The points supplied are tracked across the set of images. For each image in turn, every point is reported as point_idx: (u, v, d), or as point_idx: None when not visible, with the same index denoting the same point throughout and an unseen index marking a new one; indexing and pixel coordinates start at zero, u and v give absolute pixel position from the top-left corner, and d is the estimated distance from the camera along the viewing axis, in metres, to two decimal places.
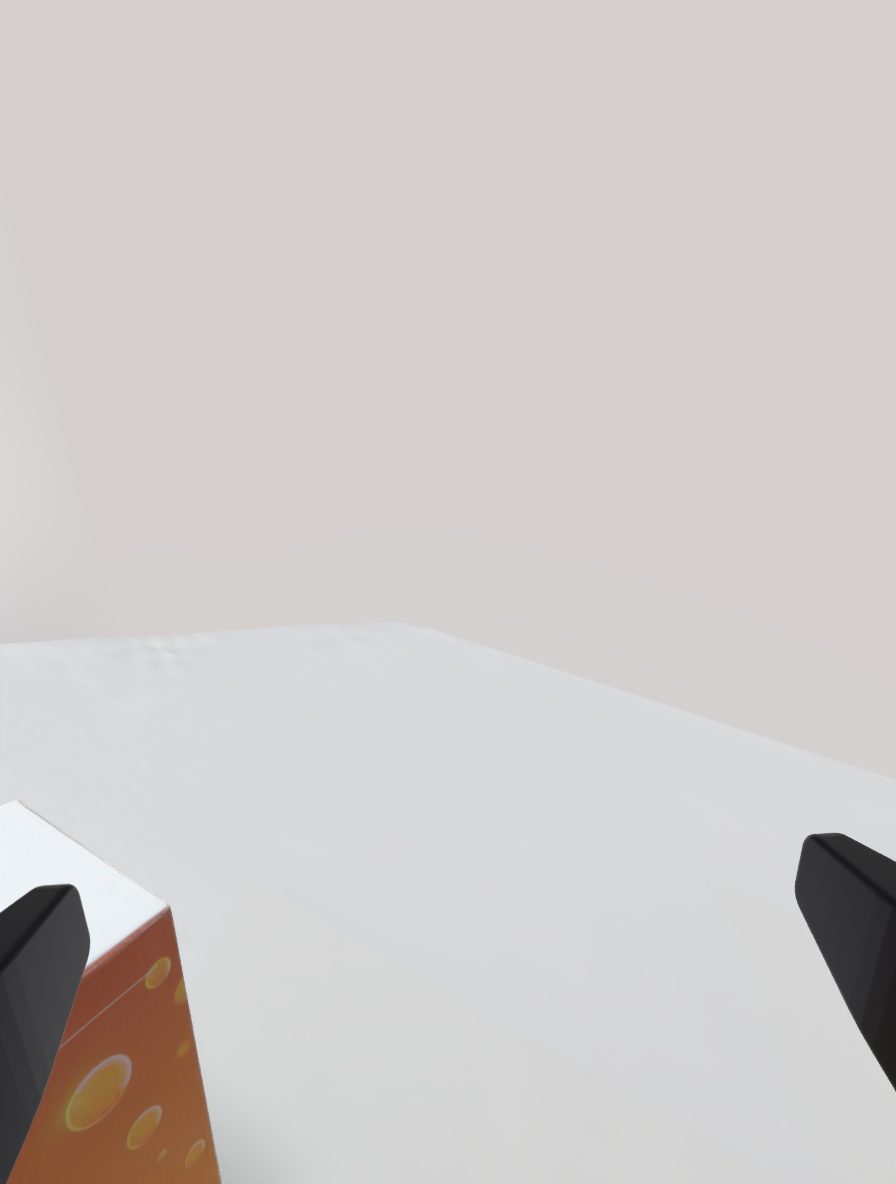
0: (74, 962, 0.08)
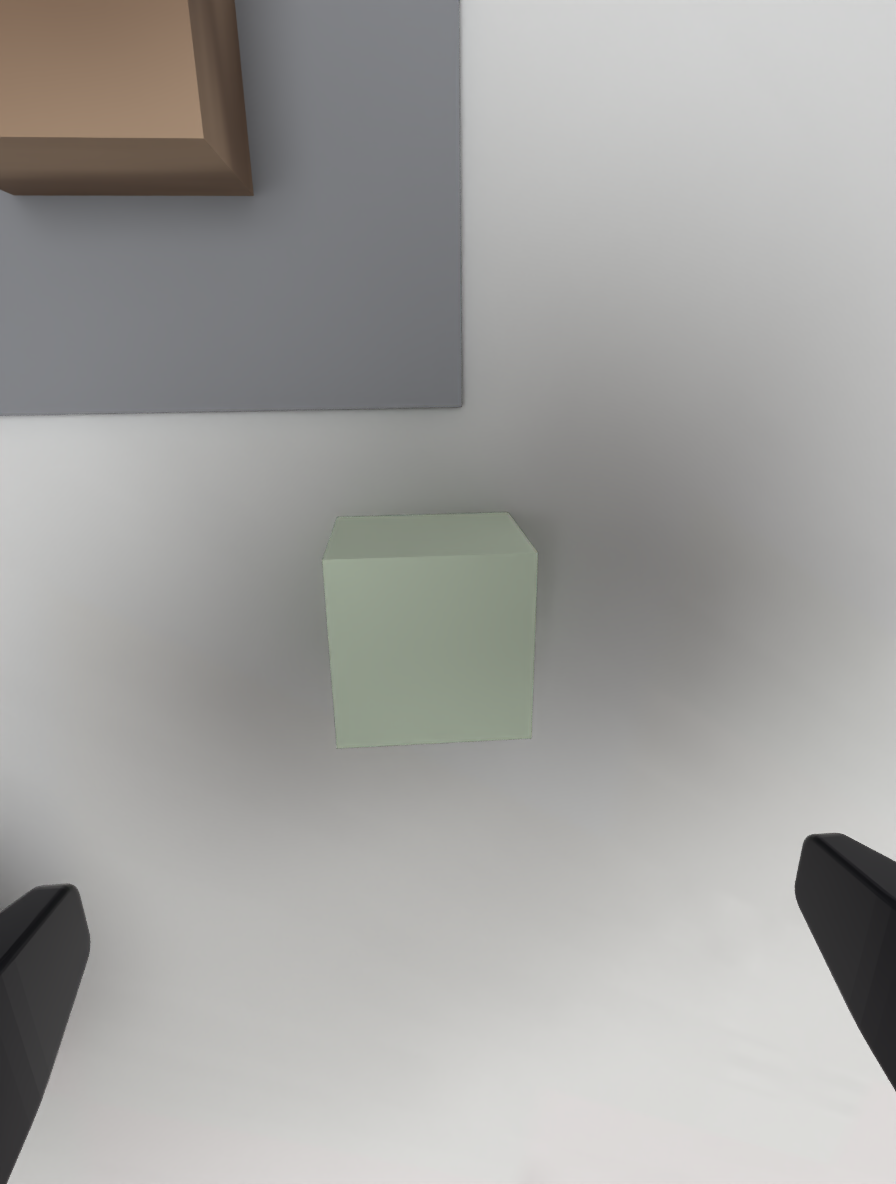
0: (74, 961, 0.08)
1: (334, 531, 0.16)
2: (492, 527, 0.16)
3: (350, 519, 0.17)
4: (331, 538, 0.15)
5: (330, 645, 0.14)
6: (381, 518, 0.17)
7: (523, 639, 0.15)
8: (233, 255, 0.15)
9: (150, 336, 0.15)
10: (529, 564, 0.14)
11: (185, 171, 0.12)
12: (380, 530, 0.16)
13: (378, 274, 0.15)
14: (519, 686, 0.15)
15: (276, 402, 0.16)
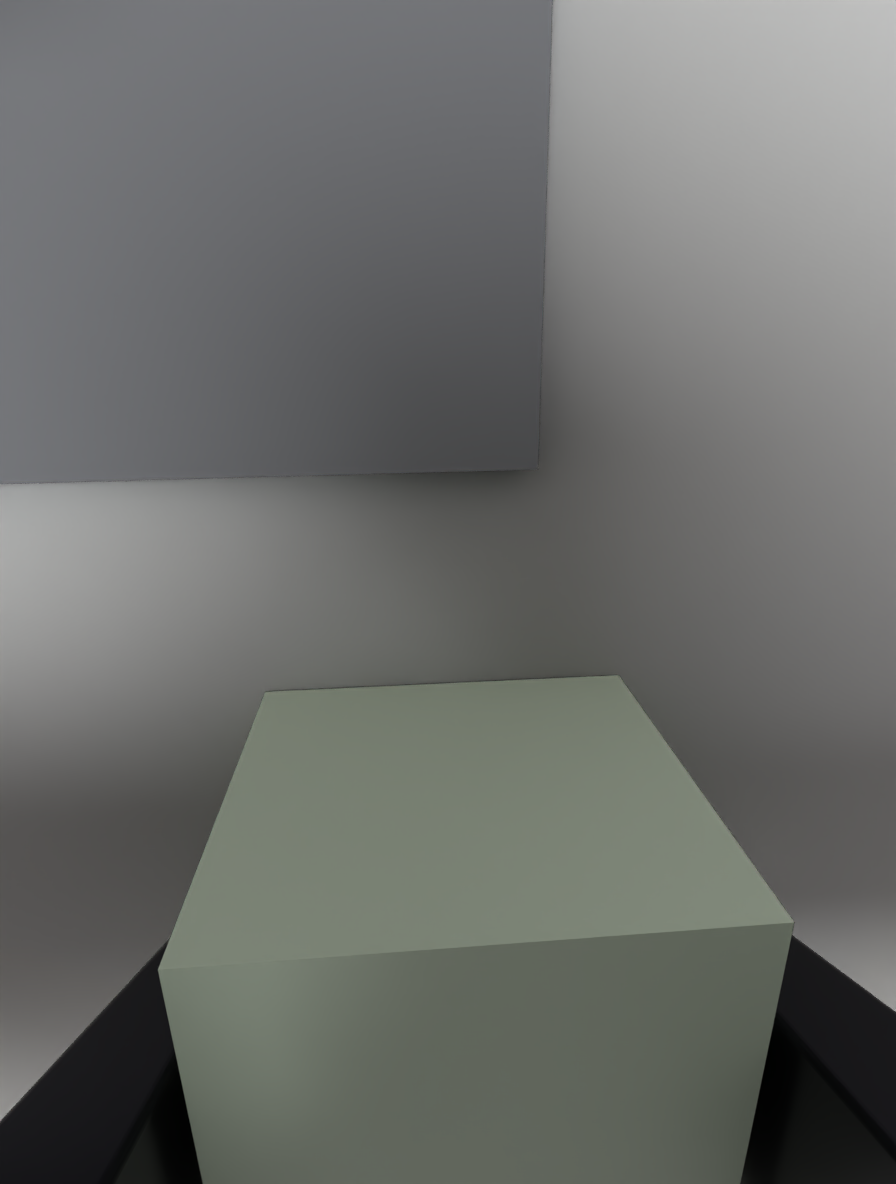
0: None
1: (241, 768, 0.07)
2: (611, 753, 0.07)
3: (290, 707, 0.08)
4: (225, 809, 0.06)
5: (203, 1153, 0.05)
6: (357, 703, 0.08)
7: (726, 1112, 0.05)
8: None
9: None
10: (766, 951, 0.05)
11: None
12: (350, 763, 0.07)
13: (345, 152, 0.06)
14: None
15: (111, 463, 0.07)
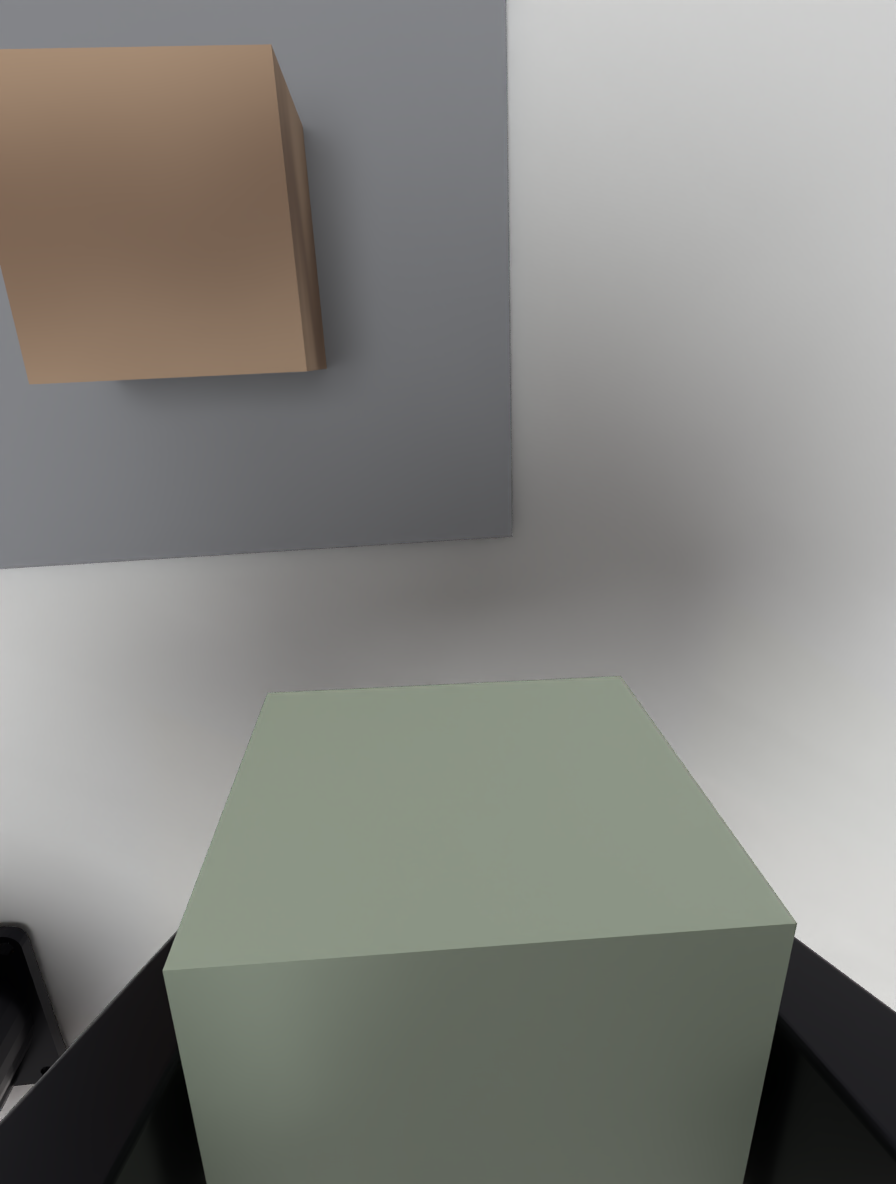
0: None
1: (244, 769, 0.07)
2: (613, 753, 0.07)
3: (292, 708, 0.08)
4: (228, 810, 0.06)
5: (206, 1153, 0.05)
6: (359, 704, 0.08)
7: (728, 1112, 0.05)
8: (308, 419, 0.16)
9: (234, 489, 0.17)
10: (769, 952, 0.05)
11: None
12: (353, 764, 0.07)
13: (437, 428, 0.17)
14: None
15: (346, 540, 0.18)
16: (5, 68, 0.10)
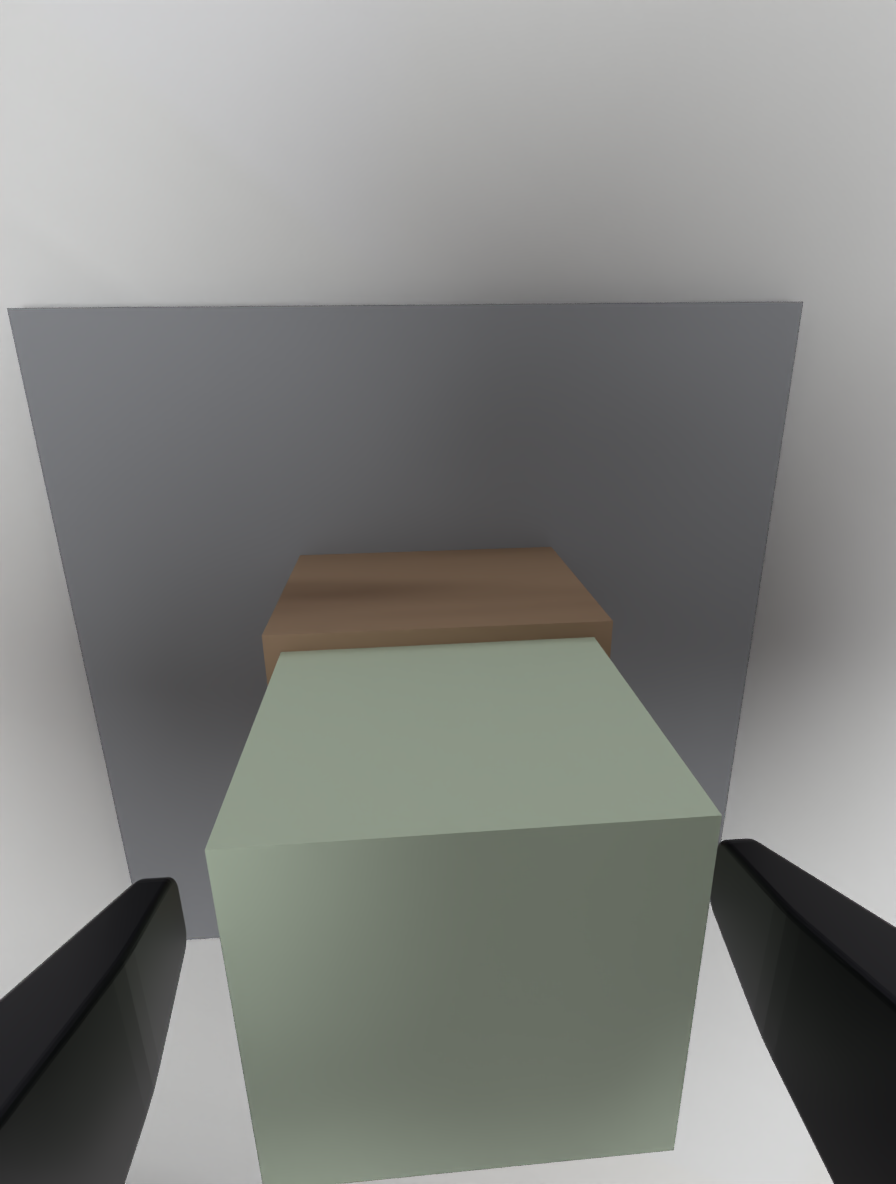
0: (175, 954, 0.08)
1: (263, 710, 0.08)
2: (582, 696, 0.08)
3: (303, 664, 0.09)
4: (251, 740, 0.07)
5: (238, 1014, 0.06)
6: (362, 660, 0.09)
7: (673, 983, 0.07)
8: None
9: None
10: (700, 840, 0.06)
11: None
12: (357, 706, 0.08)
13: None
14: (656, 1066, 0.07)
15: None
16: (321, 649, 0.09)
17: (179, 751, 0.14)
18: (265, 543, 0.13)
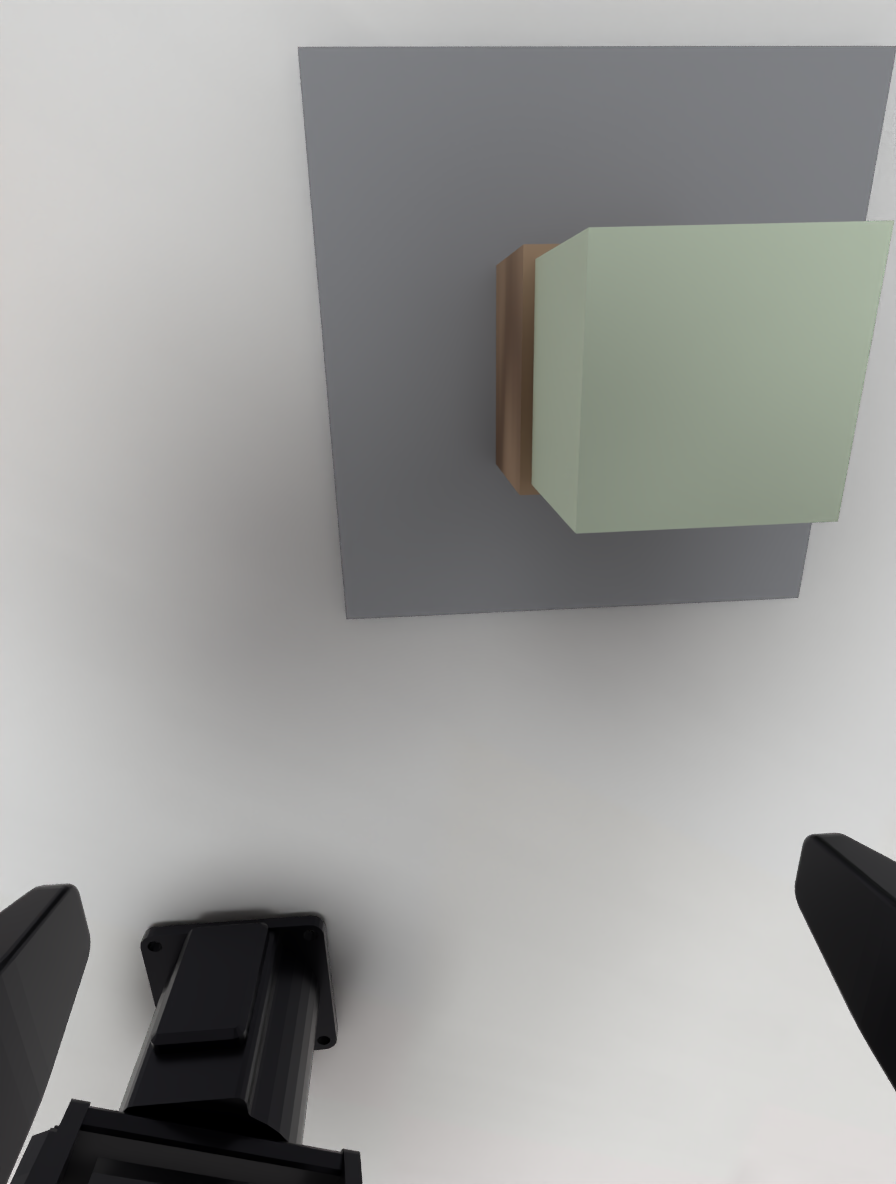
0: (74, 962, 0.08)
1: None
2: None
3: None
4: None
5: (584, 371, 0.10)
6: None
7: (851, 364, 0.10)
8: None
9: (574, 556, 0.20)
10: (879, 239, 0.10)
11: None
12: None
13: None
14: (834, 440, 0.11)
15: (658, 599, 0.20)
16: None
17: (389, 441, 0.18)
18: (470, 254, 0.17)
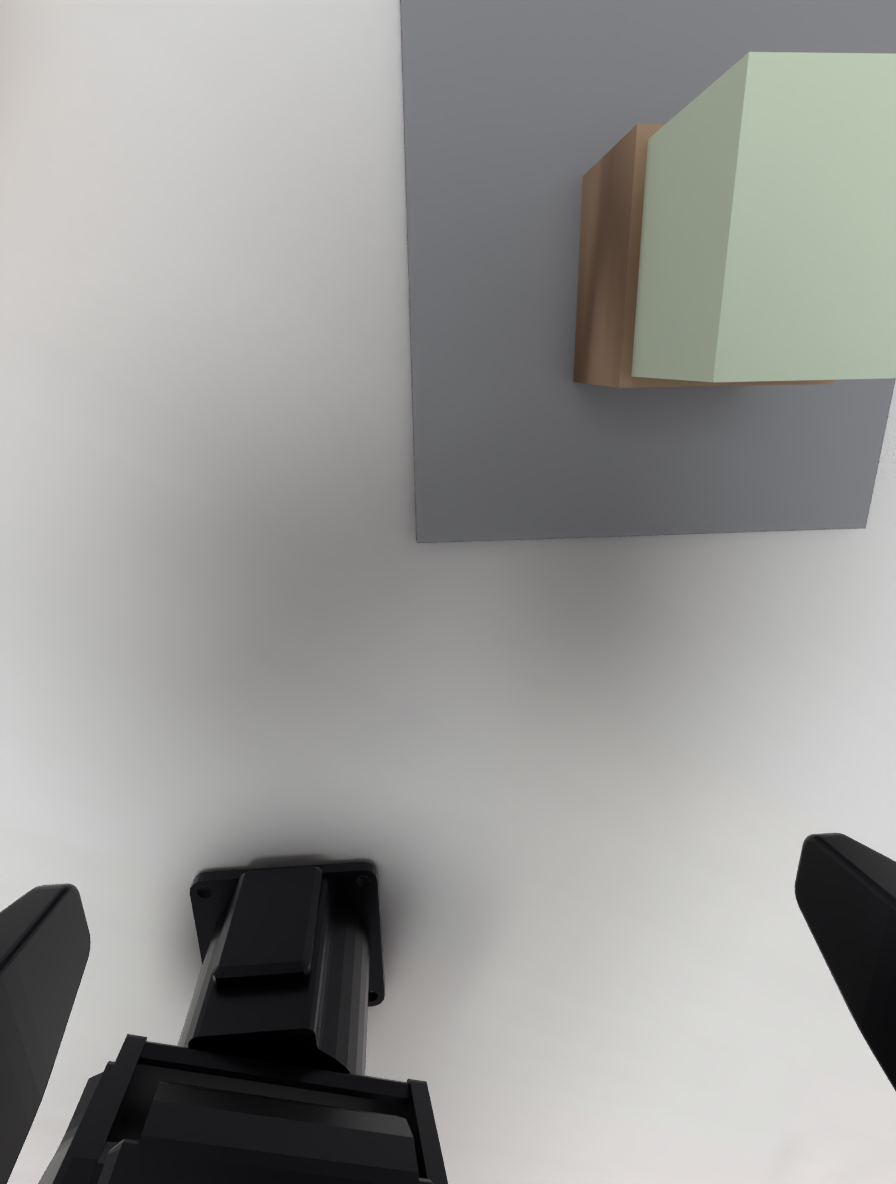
0: (74, 962, 0.08)
1: (685, 109, 0.12)
2: None
3: None
4: (700, 96, 0.11)
5: (733, 206, 0.10)
6: None
7: None
8: (721, 421, 0.19)
9: (647, 480, 0.20)
10: None
11: None
12: None
13: (824, 433, 0.20)
14: None
15: (728, 527, 0.20)
16: None
17: (468, 356, 0.18)
18: (558, 164, 0.17)
